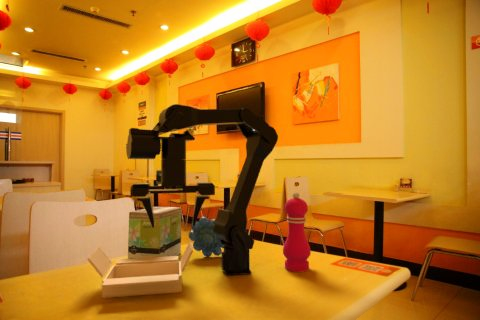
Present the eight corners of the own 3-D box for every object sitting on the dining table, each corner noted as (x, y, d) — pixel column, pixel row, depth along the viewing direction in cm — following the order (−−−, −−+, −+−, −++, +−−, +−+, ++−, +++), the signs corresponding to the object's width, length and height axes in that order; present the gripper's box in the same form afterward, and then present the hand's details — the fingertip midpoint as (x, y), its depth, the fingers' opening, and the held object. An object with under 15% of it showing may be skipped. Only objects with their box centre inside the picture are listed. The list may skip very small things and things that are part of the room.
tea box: (160, 267, 86) (160, 212, 86) (126, 265, 88) (126, 211, 88) (182, 253, 100) (182, 206, 101) (152, 251, 102) (152, 205, 103)
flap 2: (180, 258, 79) (182, 259, 79) (181, 270, 69) (183, 271, 69) (189, 240, 79) (191, 241, 79) (191, 250, 70) (193, 251, 70)
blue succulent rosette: (187, 261, 91) (187, 219, 92) (189, 255, 98) (189, 215, 98) (227, 260, 92) (227, 218, 92) (227, 254, 99) (227, 215, 99)
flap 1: (99, 246, 75) (98, 247, 75) (88, 257, 66) (86, 259, 66) (112, 262, 76) (111, 263, 75) (103, 276, 66) (101, 277, 66)
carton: (181, 270, 83) (181, 255, 83) (182, 298, 65) (182, 279, 65) (115, 275, 80) (115, 259, 80) (97, 305, 62) (97, 285, 62)
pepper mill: (279, 270, 82) (279, 192, 83) (286, 263, 89) (286, 191, 90) (308, 273, 80) (307, 193, 80) (312, 265, 86) (312, 191, 87)
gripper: (209, 160, 85) (210, 219, 84) (136, 160, 81) (135, 222, 81) (215, 159, 74) (215, 227, 73) (130, 159, 70) (129, 230, 70)
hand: (173, 226), depth 75 cm, fingers open, 9 cm apart
